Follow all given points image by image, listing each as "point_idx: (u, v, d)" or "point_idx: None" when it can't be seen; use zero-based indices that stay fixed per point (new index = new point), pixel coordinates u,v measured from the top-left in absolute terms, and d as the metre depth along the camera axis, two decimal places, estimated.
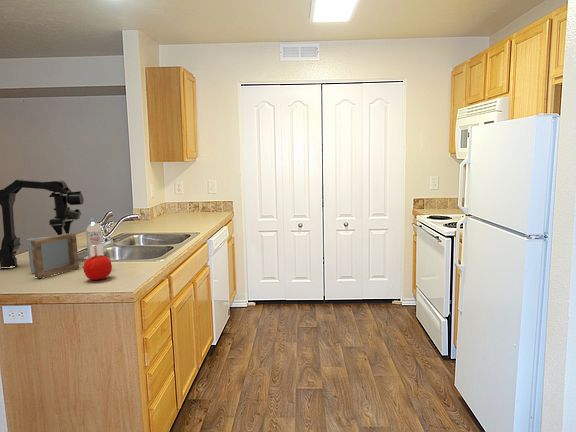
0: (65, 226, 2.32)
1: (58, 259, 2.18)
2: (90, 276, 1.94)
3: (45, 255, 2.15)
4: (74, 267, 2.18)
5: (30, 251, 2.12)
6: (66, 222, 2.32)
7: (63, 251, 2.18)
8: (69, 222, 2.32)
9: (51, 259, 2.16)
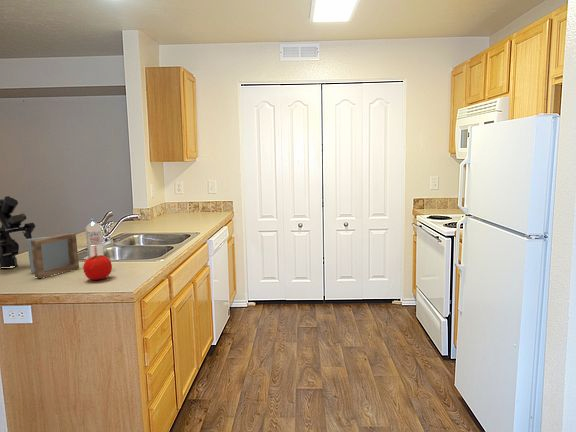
0: (27, 236, 2.23)
1: (58, 259, 2.18)
2: (90, 276, 1.94)
3: (45, 255, 2.15)
4: (74, 267, 2.18)
5: (30, 251, 2.12)
6: (25, 232, 2.23)
7: (63, 251, 2.18)
8: (27, 230, 2.23)
9: (51, 259, 2.16)
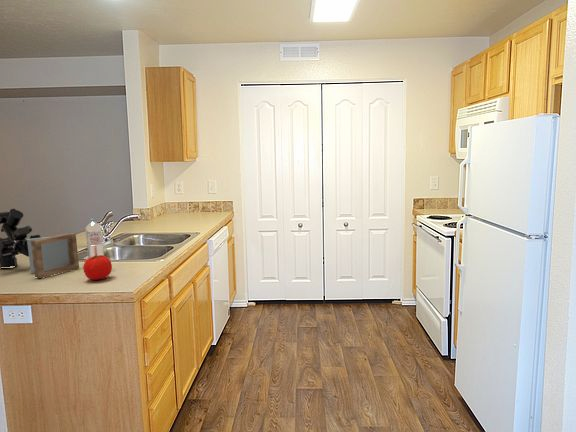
0: None
1: (58, 259, 2.18)
2: (90, 276, 1.94)
3: (45, 255, 2.15)
4: (74, 267, 2.18)
5: (30, 251, 2.12)
6: None
7: (63, 251, 2.18)
8: (24, 244, 2.18)
9: (51, 259, 2.16)
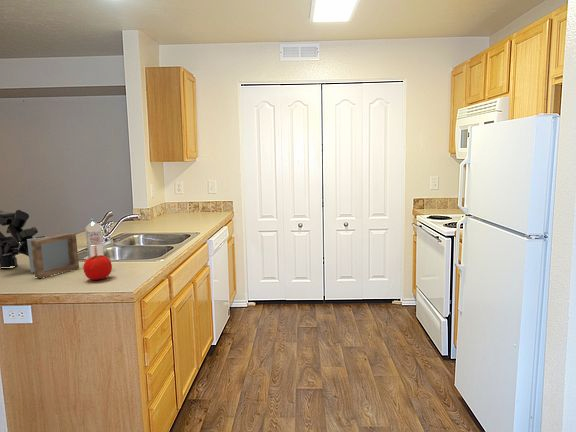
0: None
1: (58, 259, 2.18)
2: (90, 276, 1.94)
3: (45, 255, 2.15)
4: (74, 267, 2.18)
5: (30, 251, 2.11)
6: None
7: (63, 251, 2.18)
8: None
9: (51, 259, 2.16)
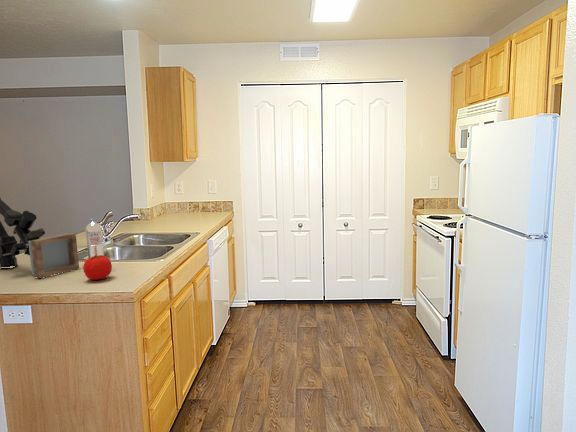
0: None
1: (59, 260, 2.16)
2: (90, 276, 1.94)
3: (47, 256, 2.12)
4: (74, 267, 2.18)
5: None
6: None
7: (63, 251, 2.18)
8: None
9: (52, 260, 2.14)
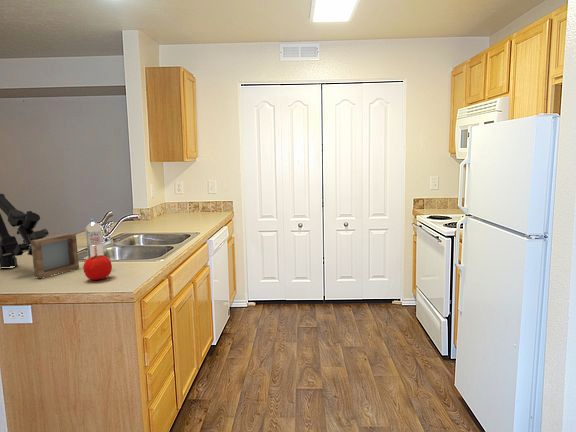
0: None
1: (60, 260, 2.16)
2: (90, 276, 1.94)
3: (49, 257, 2.11)
4: (74, 267, 2.18)
5: None
6: None
7: (64, 251, 2.17)
8: None
9: (54, 260, 2.13)
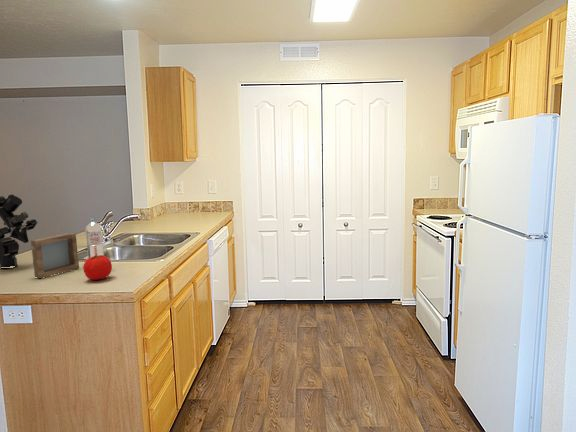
0: (22, 235, 2.21)
1: (60, 260, 2.16)
2: (90, 276, 1.94)
3: (49, 257, 2.11)
4: (74, 267, 2.18)
5: None
6: (21, 231, 2.22)
7: (64, 251, 2.17)
8: (22, 230, 2.21)
9: (54, 260, 2.13)
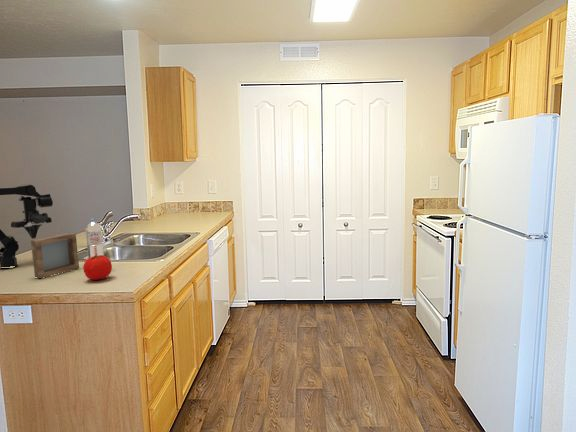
0: (33, 230, 2.34)
1: (60, 260, 2.16)
2: (90, 276, 1.94)
3: (49, 257, 2.11)
4: (74, 267, 2.18)
5: None
6: (33, 226, 2.34)
7: (64, 251, 2.17)
8: (35, 226, 2.33)
9: (54, 260, 2.13)
